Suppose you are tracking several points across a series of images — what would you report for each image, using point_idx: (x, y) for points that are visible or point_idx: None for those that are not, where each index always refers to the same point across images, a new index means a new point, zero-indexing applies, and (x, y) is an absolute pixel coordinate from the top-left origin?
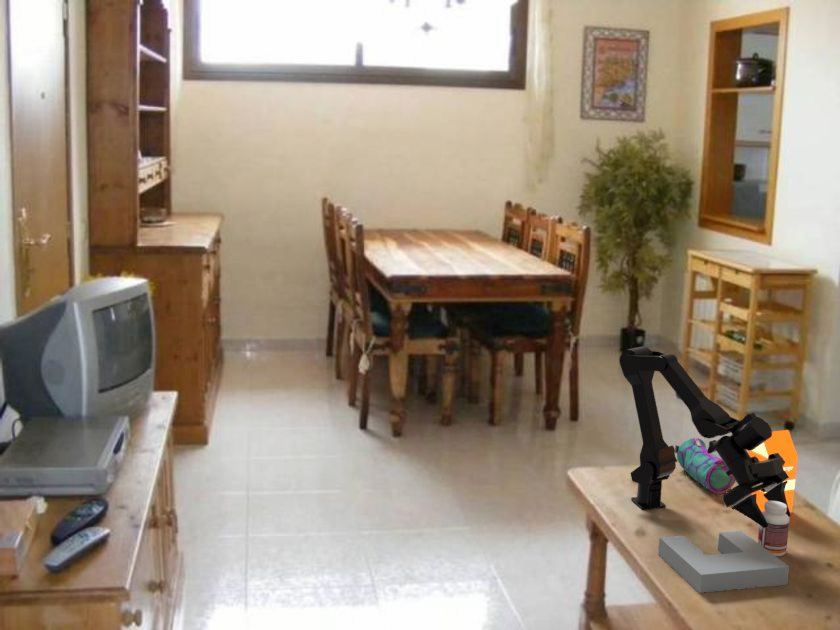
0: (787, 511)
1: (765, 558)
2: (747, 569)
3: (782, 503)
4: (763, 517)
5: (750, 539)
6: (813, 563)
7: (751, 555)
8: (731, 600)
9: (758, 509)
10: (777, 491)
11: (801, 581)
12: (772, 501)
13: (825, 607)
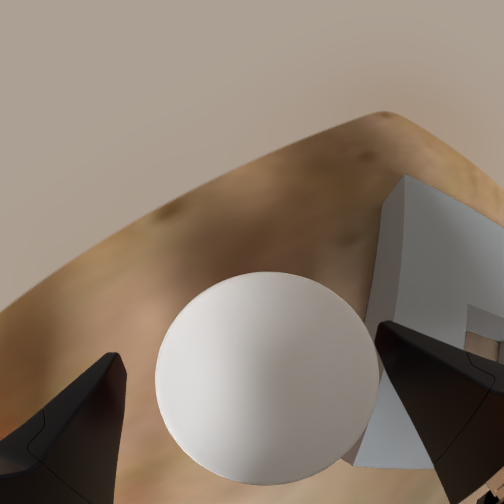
0: (110, 369)
1: (437, 238)
2: (494, 226)
3: (176, 363)
4: (421, 340)
5: (389, 380)
6: (201, 238)
7: (461, 273)
8: None
9: (471, 363)
10: (42, 500)
11: (335, 194)
12: (227, 456)
13: (368, 125)
